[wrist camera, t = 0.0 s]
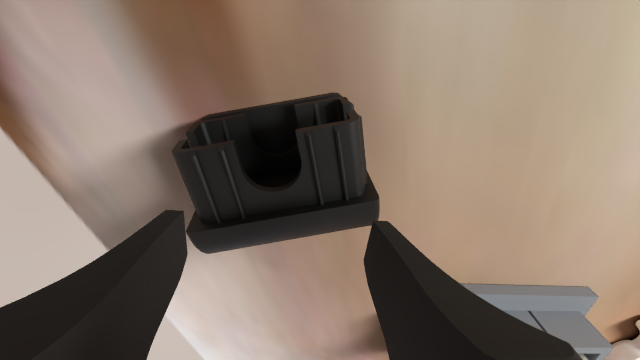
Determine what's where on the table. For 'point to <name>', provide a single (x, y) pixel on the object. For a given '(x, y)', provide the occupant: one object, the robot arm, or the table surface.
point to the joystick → (626, 349)
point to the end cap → (276, 173)
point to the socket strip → (551, 312)
